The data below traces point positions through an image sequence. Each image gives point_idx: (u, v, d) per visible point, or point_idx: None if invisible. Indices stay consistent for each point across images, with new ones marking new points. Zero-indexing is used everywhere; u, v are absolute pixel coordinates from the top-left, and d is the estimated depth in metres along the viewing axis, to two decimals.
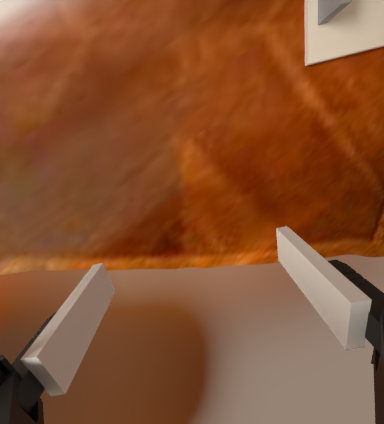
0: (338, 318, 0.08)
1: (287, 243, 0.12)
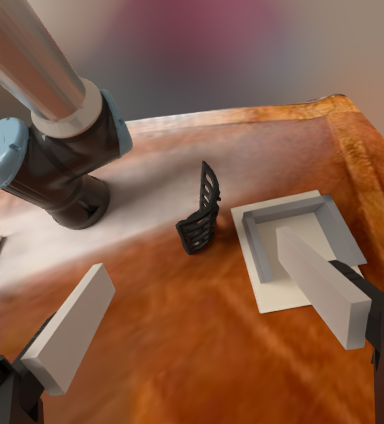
0: (338, 318, 0.08)
1: (286, 243, 0.12)
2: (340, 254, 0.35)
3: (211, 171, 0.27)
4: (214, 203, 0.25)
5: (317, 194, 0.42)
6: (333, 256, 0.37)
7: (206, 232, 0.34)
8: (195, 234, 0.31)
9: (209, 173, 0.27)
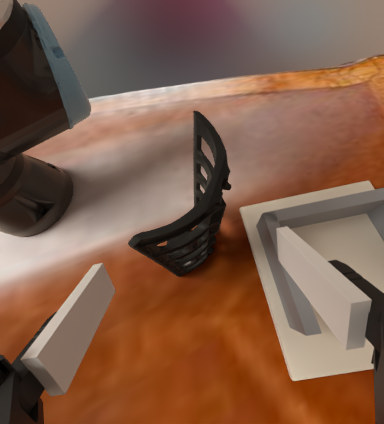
0: (338, 318, 0.08)
1: (286, 243, 0.12)
2: None
3: (211, 129, 0.13)
4: (217, 194, 0.11)
5: (369, 186, 0.29)
6: None
7: (203, 246, 0.21)
8: (182, 253, 0.17)
9: (207, 135, 0.14)
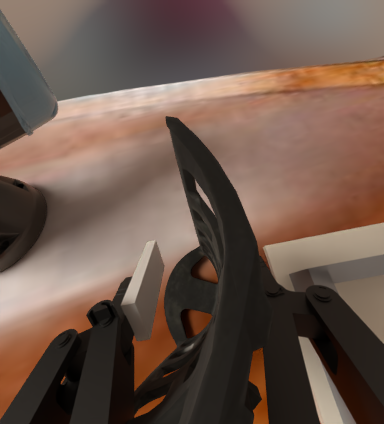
0: None
1: None
2: None
3: (209, 165, 0.05)
4: None
5: None
6: None
7: None
8: (168, 389, 0.09)
9: (201, 177, 0.05)
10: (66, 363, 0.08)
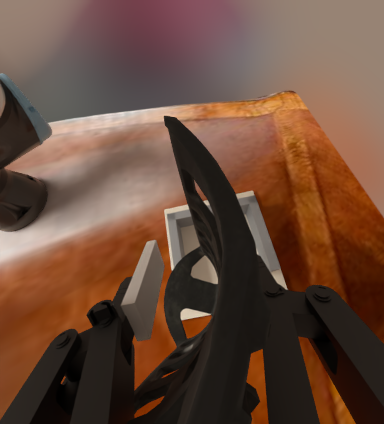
0: None
1: None
2: (262, 258, 0.34)
3: (207, 165, 0.05)
4: None
5: (252, 195, 0.41)
6: None
7: None
8: (167, 390, 0.09)
9: (200, 177, 0.05)
10: (66, 363, 0.08)
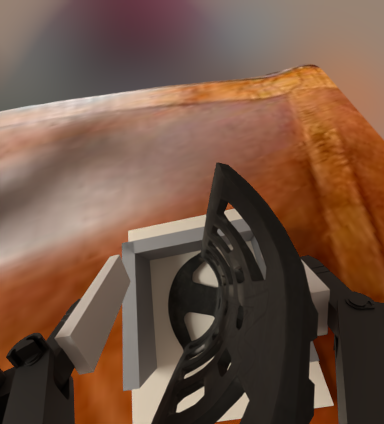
0: None
1: None
2: None
3: (261, 207, 0.06)
4: (306, 395, 0.05)
5: None
6: None
7: None
8: (200, 385, 0.10)
9: (248, 212, 0.07)
10: None
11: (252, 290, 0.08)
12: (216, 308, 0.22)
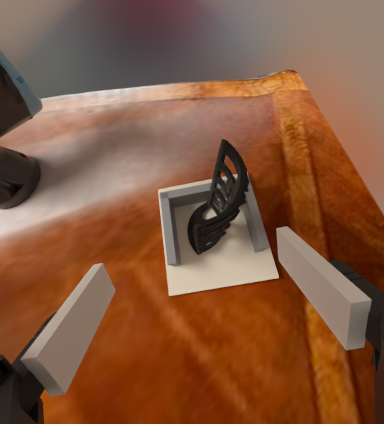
0: (338, 318, 0.08)
1: (286, 243, 0.12)
2: (253, 238, 0.34)
3: (235, 153, 0.20)
4: (243, 196, 0.19)
5: None
6: (249, 240, 0.36)
7: (222, 230, 0.28)
8: (212, 234, 0.25)
9: (232, 156, 0.21)
10: None
11: (233, 189, 0.23)
12: None
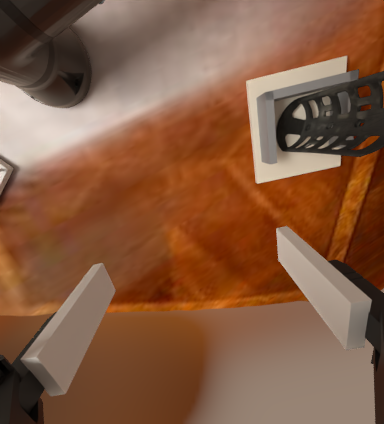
0: (338, 318, 0.08)
1: (287, 243, 0.12)
2: (334, 136, 0.41)
3: None
4: None
5: (344, 62, 0.38)
6: None
7: (330, 137, 0.35)
8: (334, 146, 0.32)
9: None
10: None
11: (379, 111, 0.27)
12: (302, 131, 0.42)
